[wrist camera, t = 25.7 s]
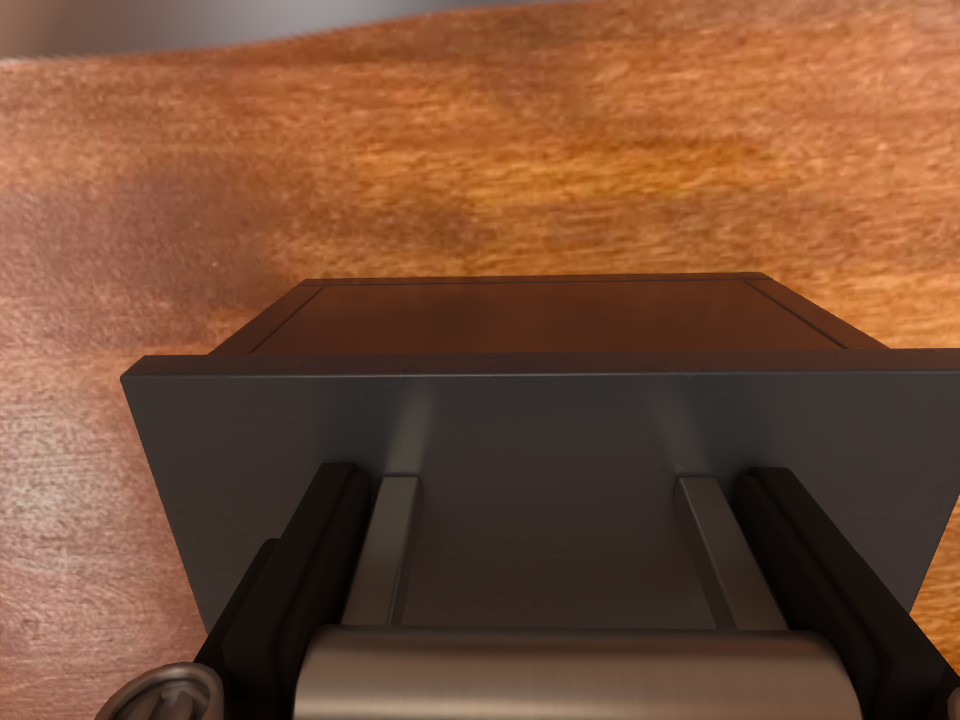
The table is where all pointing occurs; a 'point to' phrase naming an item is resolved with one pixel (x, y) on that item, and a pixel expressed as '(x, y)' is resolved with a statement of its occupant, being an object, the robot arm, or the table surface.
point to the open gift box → (543, 316)
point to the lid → (556, 516)
